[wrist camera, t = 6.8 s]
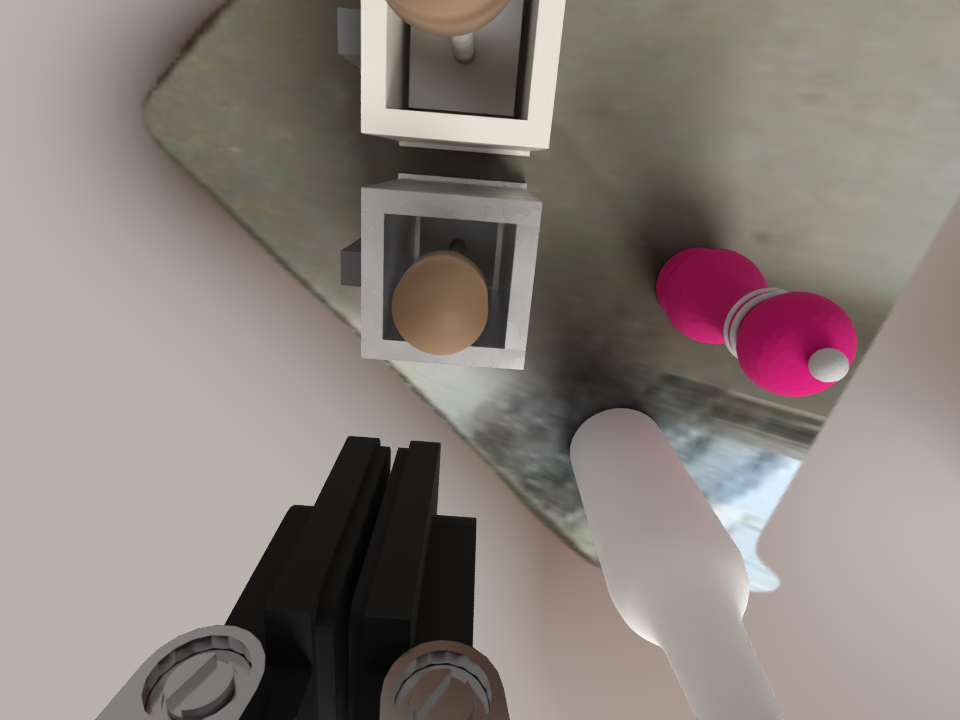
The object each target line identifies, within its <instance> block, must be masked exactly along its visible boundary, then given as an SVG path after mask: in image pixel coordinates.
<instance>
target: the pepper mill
mask: <svg viewBox="0 0 960 720" xmlns="http://www.w3.org/2000/svg"><path fill="white" fill-rule="evenodd" d="M656 294H657V298H658V301H659V303H660V305H661V307H662V308H663V309H664V310H665V311H666V313H667V316H668V318H669V319H670V321H671V323H672V324H673V325H674V327H675V328H676V329H677V330H678V331H680V332H681V333H683V334H684V335H686V336H688V337H689V338H691V339H694V340H696V341H699V342H703V343H710V344H726V346H727V348H728V349H729V351H730V352H731V353H732V354H733V355H734V356H735V357H736V358H738V361H739V364H740V366H741V368H742V369H743V371H744V372H745V374H746V375H747V376H748V377H749V378H750V379H751V380H752V381H753V382H754V383H755V384H757V385H758V386H760V387H762V388H764V389H765V390H767V391H769V392H772V393H775V394H779V395H783V396H794V397H800V396H808V395H811V394H815V393H817V392H820V391H822V390H825V389H827V388H828V387H830V386H831V385H833V384H834V383H836V382H837V381H838V380H840V379H841V378H843V377H844V376H845V375H846V374H847V372H848V369H849V367H850V365H851V364H852V362H853V360H854V356H855V352H856V346H857V337H856V331H855V328H854V326H853V323H852V321H851V319H850V318H849V317H848V315H847V314H846V313H845V312H844V310H843V309H842V308H841V307H839V306H838V305H837V304H835V303H834V302H832V301H831V300H829V299H827V298H825V297H823V296H820V295H817V294H813V293H809V292H788V291H786V290H783V289H779V288H768V286H767V283H766V281H765V278H764V277H763V275H762V273H761V272H760V270H759V269H758V268H757V266H756V265H755V264H754V263H753V262H751V261H750V260H749V259H747V258H746V257H744V256H743V255H741V254H739V253H737V252H735V251H731V250H727V249H708V248H703V247H694V248H689V249H686V250H683V251H681V252H679V253H677V254H675V255H674V256H672V257H671V258H670V259H669V260H668V261H667V262H666V263H665V265H664V266H663V267H662V269H661V271H660V273H659V276H658V279H657V284H656Z"/></svg>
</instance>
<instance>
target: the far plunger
mask: <svg viewBox="0 0 960 720" xmlns="http://www.w3.org/2000/svg"><path fill="white" fill-rule="evenodd" d="M497 231H498V222H486V221H474V220H461V219H449V218H436V217H424V216H421V217H420V244H419V258H418V259H417V260H416V261H414V262H413V264H412V265H411V266H410V267H409V268H408V270H407V271H406V273H405V274H404V276H403V277H402V279H401V280H400V282H399V283H398V285H397V287H396V289H395V291H394V294H393V298H392V316H393V320H394V323H395V326H396V328H397V330H398V331H399V333H400V334H401V336H402V337H403V338H404V339H405V340H406V341H407V342H408V343H409V344H410V345H412V346H413V347H414V348H416V349H418V350H420V351H422V352H425V353H428V354H433V355H450V354H454V353H457V352H460V351H462V350H464V349H466V348H467V347H469V346H470V345H472V344H473V343H474V342H475V341H476V340H477V339H478V337H479V336H480V335H481V333H482V332H483V330H484V327H485V325H486V322H487V317H488V291H487V286H489V287H493V277H494V265H495V254H496V242H497Z"/></svg>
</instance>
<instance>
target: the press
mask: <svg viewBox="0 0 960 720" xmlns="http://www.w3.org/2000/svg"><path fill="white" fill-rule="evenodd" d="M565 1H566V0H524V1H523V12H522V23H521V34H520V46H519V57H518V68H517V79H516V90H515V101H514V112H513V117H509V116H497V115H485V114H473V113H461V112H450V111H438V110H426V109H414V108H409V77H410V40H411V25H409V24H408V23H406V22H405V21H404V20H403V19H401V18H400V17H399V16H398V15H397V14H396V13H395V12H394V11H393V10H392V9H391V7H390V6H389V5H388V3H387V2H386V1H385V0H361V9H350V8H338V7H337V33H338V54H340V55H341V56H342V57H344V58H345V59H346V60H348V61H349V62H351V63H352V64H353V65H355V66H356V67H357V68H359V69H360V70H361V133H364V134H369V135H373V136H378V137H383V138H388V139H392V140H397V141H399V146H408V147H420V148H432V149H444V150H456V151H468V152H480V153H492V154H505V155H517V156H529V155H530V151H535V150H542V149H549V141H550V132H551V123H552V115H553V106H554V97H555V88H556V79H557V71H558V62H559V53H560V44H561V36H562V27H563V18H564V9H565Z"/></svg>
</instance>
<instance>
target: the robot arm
mask: <svg viewBox="0 0 960 720" xmlns="http://www.w3.org/2000/svg"><path fill="white" fill-rule="evenodd" d="M440 448H441V444H440V443H436V442H424V441H411V442H410V445H409V448H398V451H397V454H396V458H395V461H394V464H393V468H392V471H391V474H390V463H391V450H390V447H385V446H381V445H380V439H379V438H369V437H356V436H349V437H348V438H347V439H346V442H345V444H344V446H343V448H342V450H341V452H340V454H339V456H338V458H337V460H336V462H335V464H334V466H333V468H332V470H331V472H330V475H329V476H328V478H327V480H326V482H325V484H324V487H323V488H322V490H321V493H320V495H319V497H318V499H317V501H316V503H315V505H314V506H304V505H293V506H292V507H290V509H289V510H288V512H287V513H286V515H285V517H284V519H283V520H282V522H281V524H280V526H279V528H278V530H277V531H276V533H275V535H274V537H273V538H272V540H271V542H270V544H269V545H268V547H267V549H266V551H265V553H264V555H263V556H262V558H261V560H260V562H259V563H258V565H257V567H256V569H255V571H254V572H253V574H252V576H251V578H250V580H249V582H248V583H247V585H246V587H245V589H244V590H243V592H242V594H241V596H240V598H239V600H238V601H237V603H236V605H235V607H234V609H233V610H232V612H231V614H230V616H229V618H228V619H227V621H226V623H225V625H215V626H209V627H204V628H198V629H195V630H193V631H190V632H188V633H185V634H183V635H180V636H178V637H176V638H175V639H173V640H171V641H170V642H168V643H167V644H165V645H163V646H162V647H160V648H159V649H158V650H157V651H156V652H155V653H153V654H152V655H151V656H150V657H149V658H148V659H147V660H146V661H145V662H144V663H143V664H142V665H141V666H140V668H139V669H138V670H137V671H136V672H135V673H134V675H133V676H132V677H131V678H130V680H128V682H127V683H126V684H125V685H124V686H123V687H122V689H121V690H120V691H119V692H118V693H117V694H116V696H115V697H114V698H113V699H112V700H111V701H110V703H109V704H108V705H107V706H106V707H105V708H104V710H103V711H102V712H101V713H100V714H99V716H98V717H97V718H96V719H95V720H510V719H509V714H508V708H507V703H506V698H505V692H504V687H503V685H502V682H501V679H500V676H499V674H498V671H497V670H496V669H495V667H494V666H493V665H492V663H491V662H490V661H489V659H488V658H487V657H486V656H484V655H483V654H482V653H480V652H479V651H477V650H476V649H475V648H473V617H474V584H475V551H476V518H469V517H457V516H443V515H437V502H438V485H439V468H440V450H441V449H440Z"/></svg>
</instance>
